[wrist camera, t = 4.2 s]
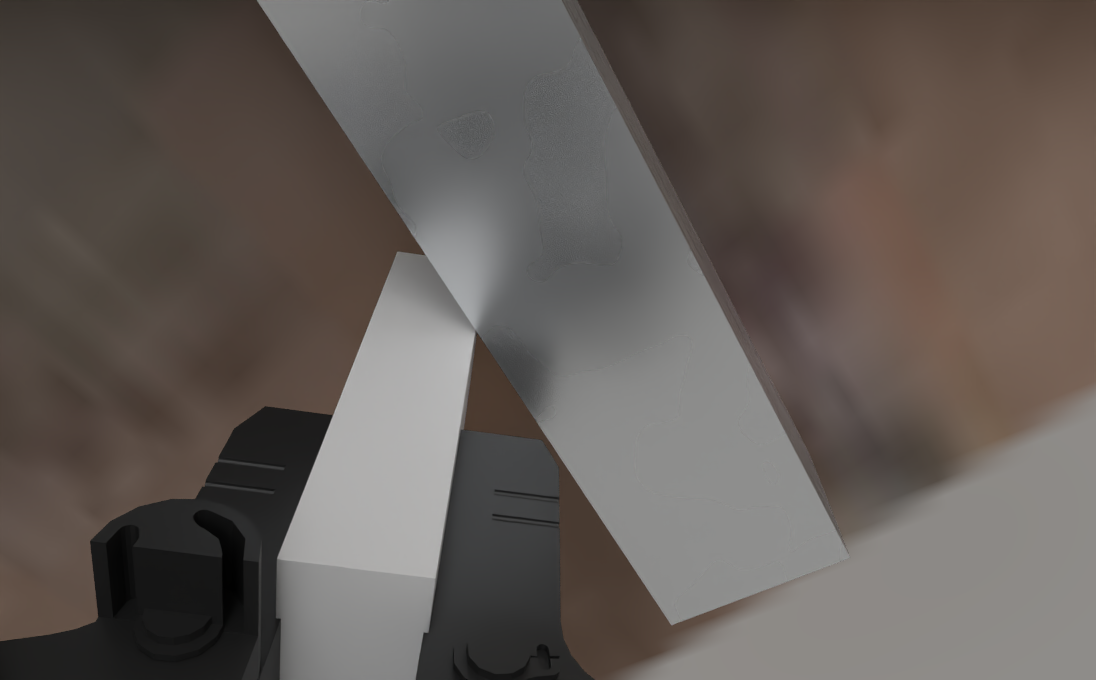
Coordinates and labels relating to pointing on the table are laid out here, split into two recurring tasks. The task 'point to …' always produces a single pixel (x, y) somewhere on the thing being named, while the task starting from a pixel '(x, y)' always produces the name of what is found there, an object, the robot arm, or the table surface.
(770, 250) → the table surface
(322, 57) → the bar
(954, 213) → the table surface
